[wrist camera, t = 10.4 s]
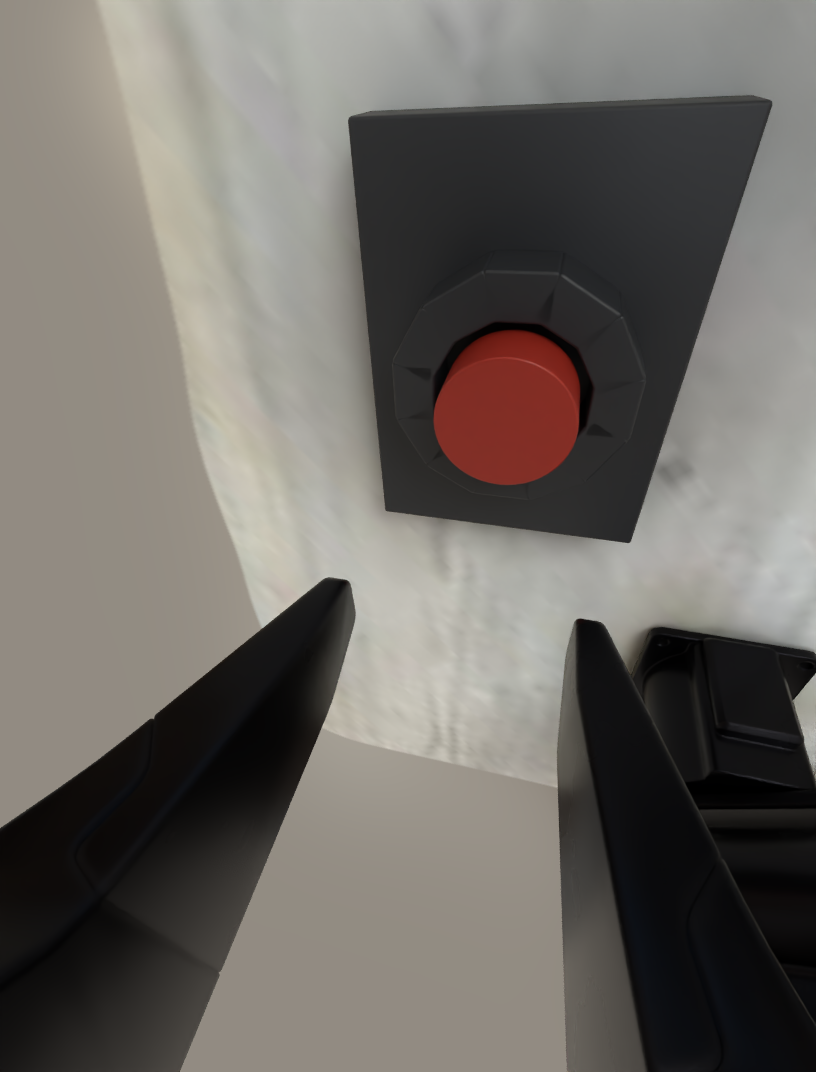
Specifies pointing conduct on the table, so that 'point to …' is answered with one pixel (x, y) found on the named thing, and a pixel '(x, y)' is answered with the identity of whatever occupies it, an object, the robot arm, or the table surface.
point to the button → (509, 408)
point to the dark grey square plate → (545, 280)
